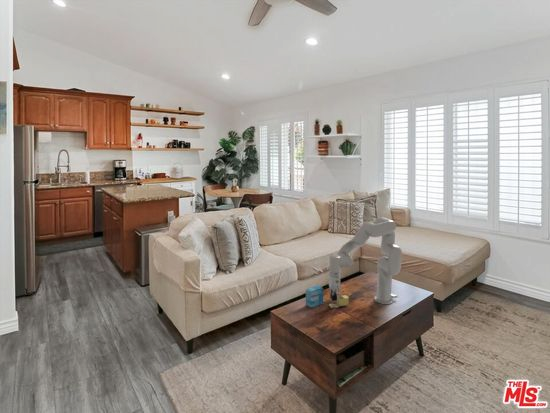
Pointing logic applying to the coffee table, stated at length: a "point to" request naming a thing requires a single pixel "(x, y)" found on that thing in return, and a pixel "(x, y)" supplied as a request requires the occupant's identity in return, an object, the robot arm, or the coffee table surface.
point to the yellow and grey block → (342, 300)
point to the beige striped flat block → (333, 305)
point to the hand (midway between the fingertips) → (333, 299)
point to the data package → (314, 296)
